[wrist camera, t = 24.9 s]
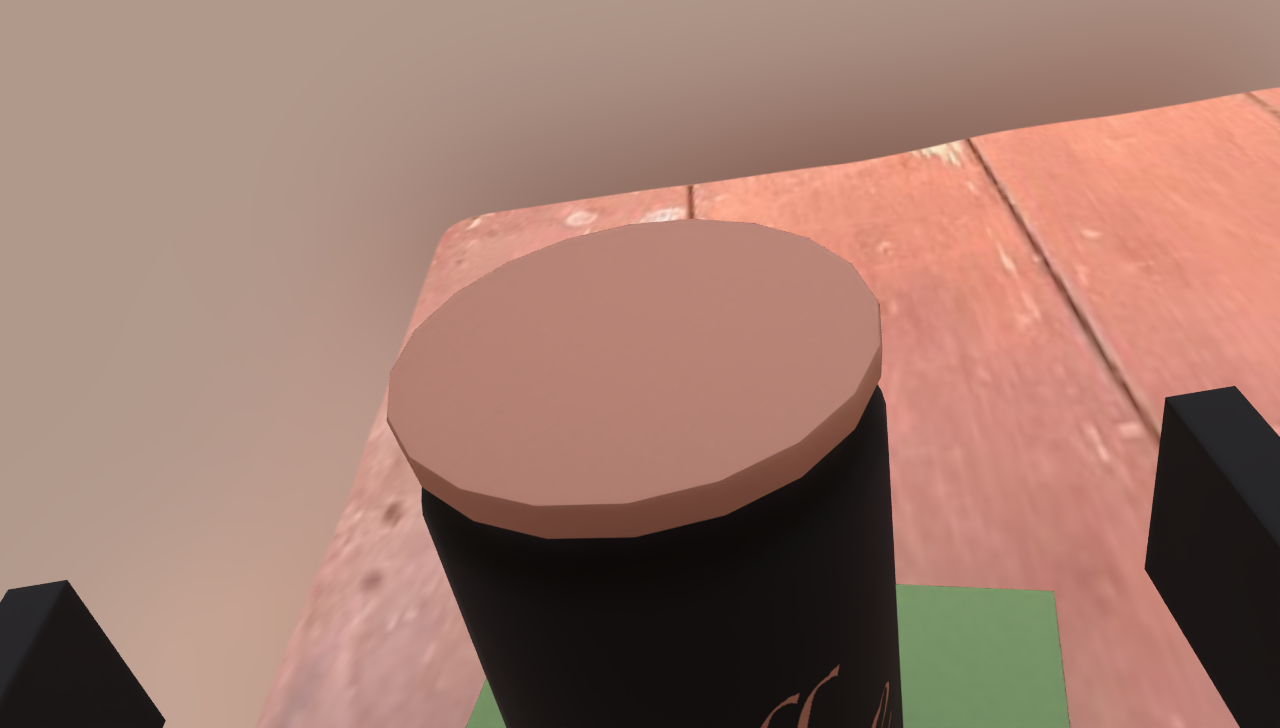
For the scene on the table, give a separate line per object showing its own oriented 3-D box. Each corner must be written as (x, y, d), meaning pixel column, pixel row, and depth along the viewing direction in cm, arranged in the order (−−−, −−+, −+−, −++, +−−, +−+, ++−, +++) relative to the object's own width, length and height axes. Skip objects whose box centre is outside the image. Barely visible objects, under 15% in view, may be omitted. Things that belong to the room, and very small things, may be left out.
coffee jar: (551, 1020, 28) (328, 543, 18) (571, 695, 37) (427, 253, 27) (950, 985, 27) (941, 460, 17) (874, 660, 36) (839, 188, 26)
